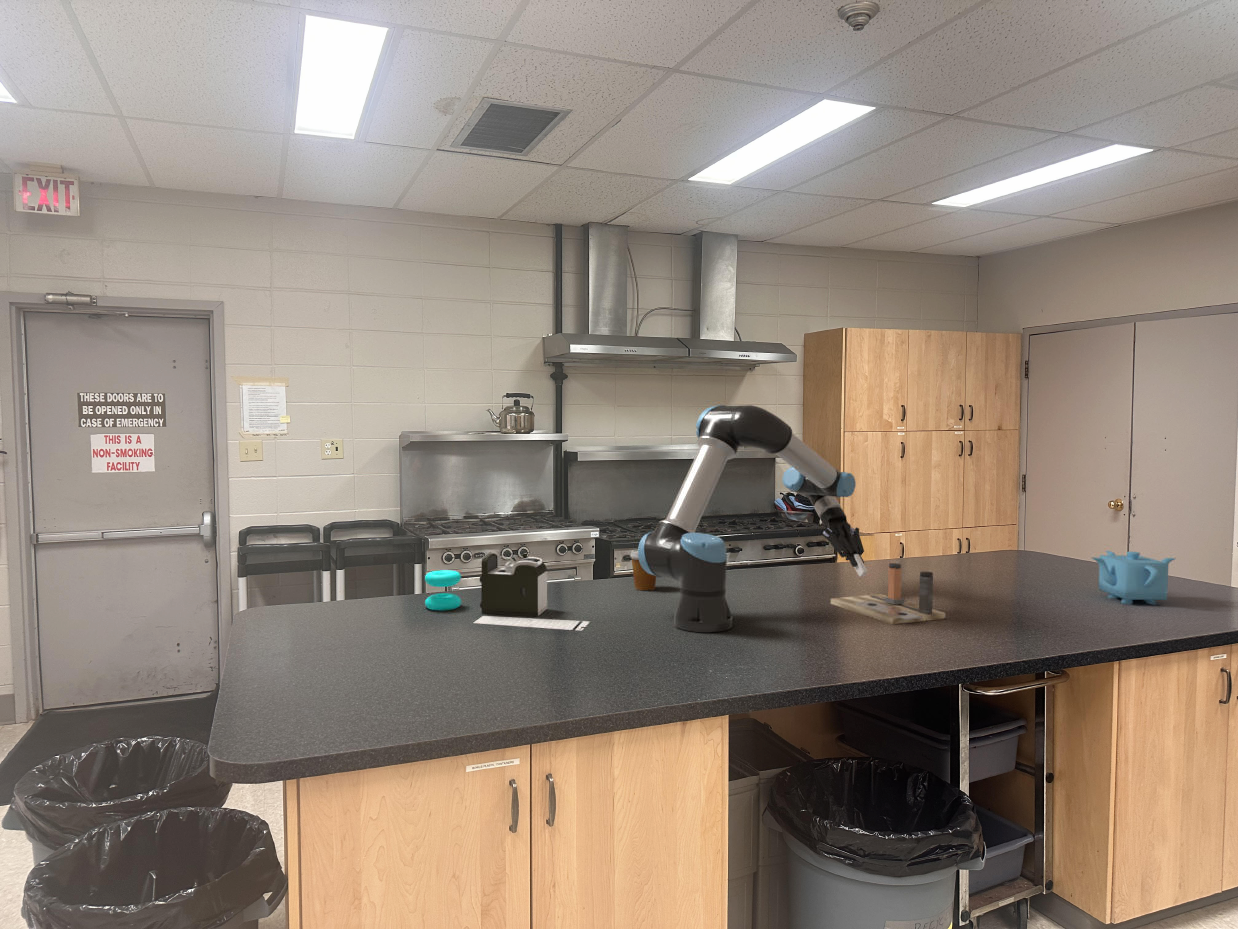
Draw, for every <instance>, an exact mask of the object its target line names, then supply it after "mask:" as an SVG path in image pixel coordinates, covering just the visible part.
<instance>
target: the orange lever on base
mask: <svg viewBox="0 0 1238 929" xmlns="http://www.w3.org/2000/svg"><path fill="white" fill-rule="evenodd" d="M887 579H888V580H887V581H888V582H887V596H888V597H884V602H887V603H890V604H903V603H905V598H902V597H901V596H902V595H901V594H902V591H901V589H902V564H901V563H896V562H894V563H893V562H892V563H891V562H889V563H888V578H887Z"/></svg>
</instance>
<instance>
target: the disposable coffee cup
mask: <svg viewBox="0 0 1238 929" xmlns="http://www.w3.org/2000/svg"><path fill="white" fill-rule="evenodd" d="M629 557H630V558H631V564H632V573H633V574H632V575H633V582H634V589H635V588H636V589H639V590H638V591H641V590H650V591H654V590H655V589H656V583H657V582H656V581H657V576H655V575H652V574H649V573H647V572H646V571H645V570H644V569H643V568H642V566H641V565H640V562H639V558H638V548H637V549H633V550H631V553H630V554H629ZM636 589H635V590H636Z"/></svg>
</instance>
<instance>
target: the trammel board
mask: <svg viewBox="0 0 1238 929" xmlns="http://www.w3.org/2000/svg"><path fill="white" fill-rule="evenodd" d="M918 589H919V592H918V593H919V594H918V595H919V596H918V598H919V599H918V604H915V603H912V602H910V601H905V603H903V604H890V603H887V602H884V597H888V595H885V594H881V593H877V594H876V593H875V594H868V595H867V594H865V595H855V596H845V597H843V596H842V597H836V598H835V597H834V598H833V597H832V598H830V605H833V606H836V607H840V608H843V609H845V610H848V611H851V612H854V613H857V614H860V615H863V616H866V617H869V618H872V617H873V618H872V619H875V620H879V621H881V620H882V621H881V622H884V621H885V622H884V623H887V624H890V623H891V624H890V625H899V623H900V624H907V623H916V622H917V623H918V622H926V620H927V621H934V620H935V621H936V620H943V619H944V618H945V619H946V612H943V611H939V610H936V609H933V606H934V605H933V603H934V602H933V600H934V599H933V598H934V596H933V595H934V572H932V571H920V573H919V588H918ZM864 601H874V602H877V603H880V604H883V605H887V606H890V607H893V608H896V609H900V610H903V611H906V612H909V613H913V614H916V615H919V616H922V618H916V619H907V620H903V619H900V618H897V617H893V616H890V615H887V614H884V613H881V612H878V611H875V610H872V609H869V608H865V607H862V606H859V605H856V604H854V602H864Z"/></svg>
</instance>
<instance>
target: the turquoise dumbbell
mask: <svg viewBox="0 0 1238 929" xmlns="http://www.w3.org/2000/svg"><path fill="white" fill-rule="evenodd" d="M461 579H462V576H461V573H460V572H458V571H456V570H450V569H449V570H447V569H444V570H443V569H442V570H434V571H430V572H427V573H426V575H424V581H425V583H427V585H429V586H431V587H435V588H436V587H437V588H446V587H452V586H455V585H458V584H459V582H460V581H461ZM424 604H425V607H426V608H427V609H428V610H432V611H439V612H440V611H451V610H455V609H457V608H459V607H460V606H461V604H462V600H461V597H460V596H459V595H457V594H454V593H451V592H448V593H447V592H441V593H434V594H431V595H429V596H428V597H427V598H426V599H425V600H424Z"/></svg>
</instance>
